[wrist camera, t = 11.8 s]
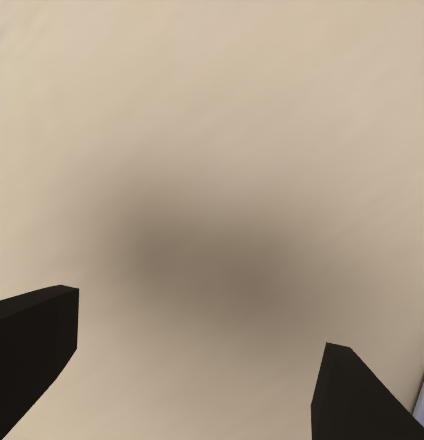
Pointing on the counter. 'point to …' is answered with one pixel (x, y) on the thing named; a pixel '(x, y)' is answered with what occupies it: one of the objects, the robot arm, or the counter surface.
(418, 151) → the counter surface
